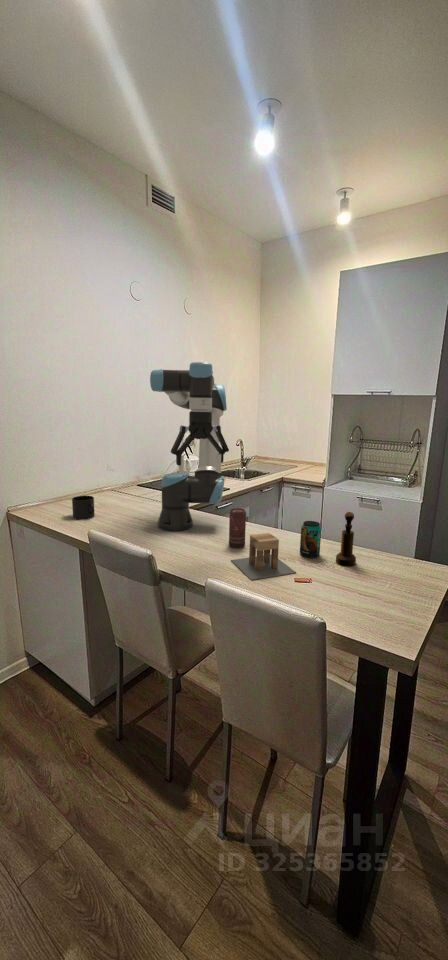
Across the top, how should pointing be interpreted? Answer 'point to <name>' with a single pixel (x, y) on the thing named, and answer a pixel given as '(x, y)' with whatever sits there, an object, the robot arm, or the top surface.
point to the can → (237, 528)
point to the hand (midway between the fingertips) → (200, 473)
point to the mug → (83, 507)
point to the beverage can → (310, 539)
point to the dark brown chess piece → (347, 544)
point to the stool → (264, 543)
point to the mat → (267, 570)
